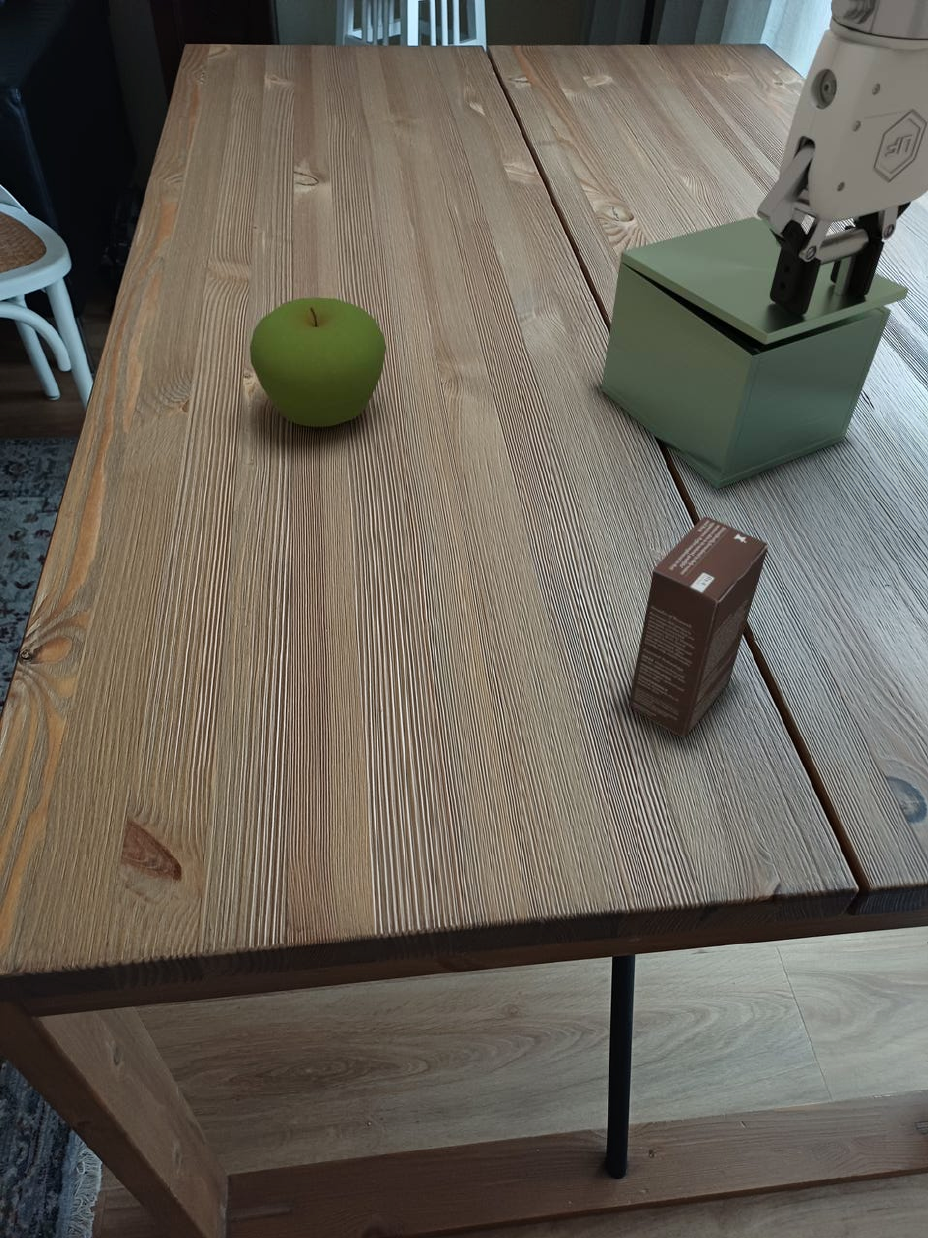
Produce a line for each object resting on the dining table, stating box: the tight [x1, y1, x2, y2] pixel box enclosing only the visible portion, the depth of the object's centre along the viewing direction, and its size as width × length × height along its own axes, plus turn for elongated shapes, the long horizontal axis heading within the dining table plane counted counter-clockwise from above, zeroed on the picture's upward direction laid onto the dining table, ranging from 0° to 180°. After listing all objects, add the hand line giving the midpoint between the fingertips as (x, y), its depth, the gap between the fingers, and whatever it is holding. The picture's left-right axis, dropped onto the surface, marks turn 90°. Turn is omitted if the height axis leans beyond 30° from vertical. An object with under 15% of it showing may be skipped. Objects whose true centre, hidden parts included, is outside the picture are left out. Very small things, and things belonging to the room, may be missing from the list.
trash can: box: [600, 261, 892, 490], centre depth 79 cm, size 16×14×12 cm
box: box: [628, 516, 770, 739], centre depth 58 cm, size 6×4×12 cm
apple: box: [249, 297, 387, 428], centre depth 78 cm, size 11×10×10 cm
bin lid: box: [619, 216, 909, 344], centre depth 72 cm, size 16×14×5 cm
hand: (818, 295), depth 69 cm, fingers closed on bin lid, 5 cm apart
